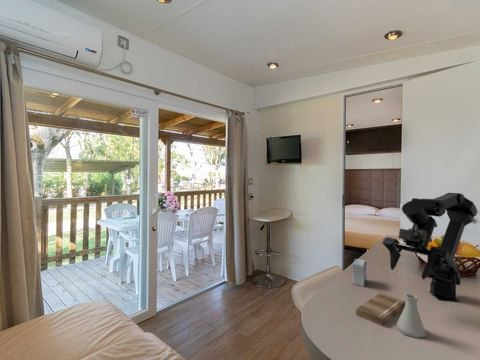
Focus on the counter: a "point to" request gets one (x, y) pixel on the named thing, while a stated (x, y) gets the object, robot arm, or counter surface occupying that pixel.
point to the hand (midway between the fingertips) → (406, 273)
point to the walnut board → (380, 308)
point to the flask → (411, 318)
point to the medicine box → (359, 272)
